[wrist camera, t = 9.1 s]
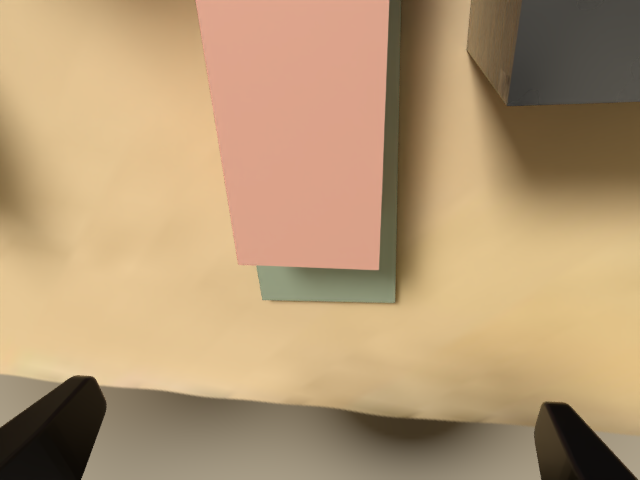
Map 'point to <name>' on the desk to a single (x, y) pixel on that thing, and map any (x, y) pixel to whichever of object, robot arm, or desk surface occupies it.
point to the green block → (381, 282)
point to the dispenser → (558, 50)
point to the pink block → (300, 126)
